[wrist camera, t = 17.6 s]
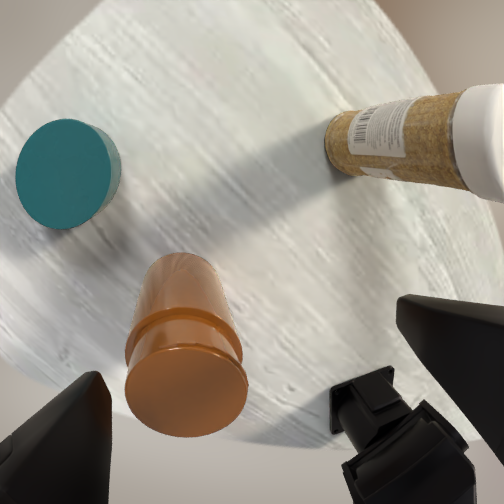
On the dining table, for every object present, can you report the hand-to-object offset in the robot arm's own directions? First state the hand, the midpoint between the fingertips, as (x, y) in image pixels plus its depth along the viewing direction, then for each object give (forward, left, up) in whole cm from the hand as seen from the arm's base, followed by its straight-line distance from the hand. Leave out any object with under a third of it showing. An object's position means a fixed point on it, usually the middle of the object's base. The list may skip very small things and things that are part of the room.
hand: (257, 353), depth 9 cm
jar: (-3, +3, -13) cm, 13 cm away
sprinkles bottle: (+5, -10, -13) cm, 17 cm away
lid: (+6, +8, -13) cm, 16 cm away
